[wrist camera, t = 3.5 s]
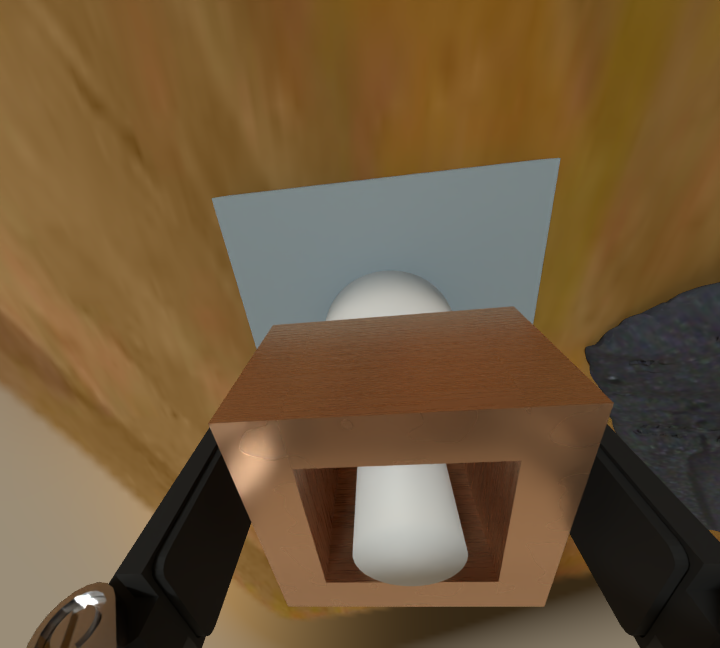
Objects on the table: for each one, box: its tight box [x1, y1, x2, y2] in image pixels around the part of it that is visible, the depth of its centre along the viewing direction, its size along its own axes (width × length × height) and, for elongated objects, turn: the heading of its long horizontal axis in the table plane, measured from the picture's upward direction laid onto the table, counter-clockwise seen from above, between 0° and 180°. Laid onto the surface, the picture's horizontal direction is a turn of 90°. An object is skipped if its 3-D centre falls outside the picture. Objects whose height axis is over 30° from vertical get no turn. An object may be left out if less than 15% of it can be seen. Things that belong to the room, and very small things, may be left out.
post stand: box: [212, 158, 560, 586], centre depth 12 cm, size 14×14×12 cm
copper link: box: [208, 306, 614, 607], centre depth 9 cm, size 7×7×4 cm
